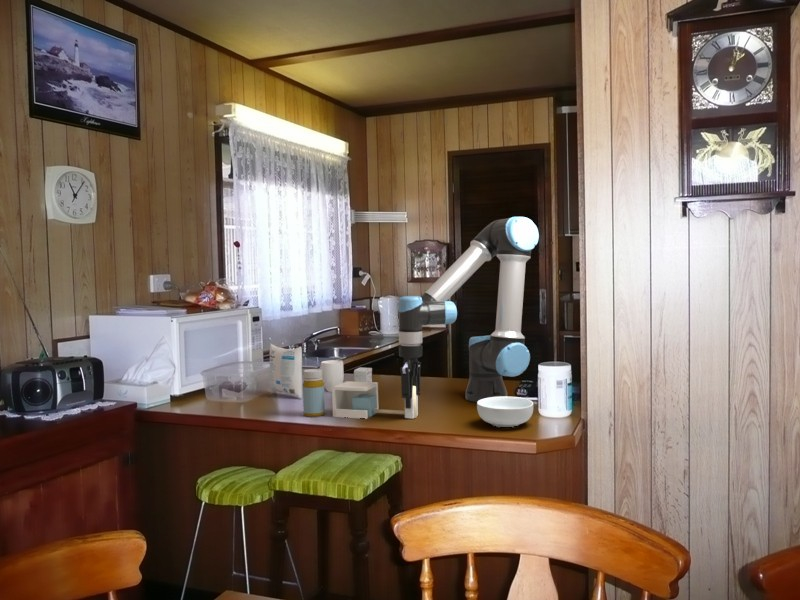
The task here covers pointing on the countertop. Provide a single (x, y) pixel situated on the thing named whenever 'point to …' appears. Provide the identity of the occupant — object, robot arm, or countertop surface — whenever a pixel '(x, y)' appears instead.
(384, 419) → the countertop surface
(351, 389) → the cubby shelf
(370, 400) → the toy mallet
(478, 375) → the robot arm
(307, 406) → the bottle
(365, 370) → the ink box
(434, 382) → the countertop surface
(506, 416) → the cereal bowl
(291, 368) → the pouch
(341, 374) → the mug
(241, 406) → the countertop surface
